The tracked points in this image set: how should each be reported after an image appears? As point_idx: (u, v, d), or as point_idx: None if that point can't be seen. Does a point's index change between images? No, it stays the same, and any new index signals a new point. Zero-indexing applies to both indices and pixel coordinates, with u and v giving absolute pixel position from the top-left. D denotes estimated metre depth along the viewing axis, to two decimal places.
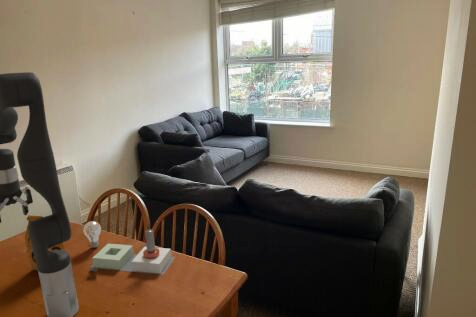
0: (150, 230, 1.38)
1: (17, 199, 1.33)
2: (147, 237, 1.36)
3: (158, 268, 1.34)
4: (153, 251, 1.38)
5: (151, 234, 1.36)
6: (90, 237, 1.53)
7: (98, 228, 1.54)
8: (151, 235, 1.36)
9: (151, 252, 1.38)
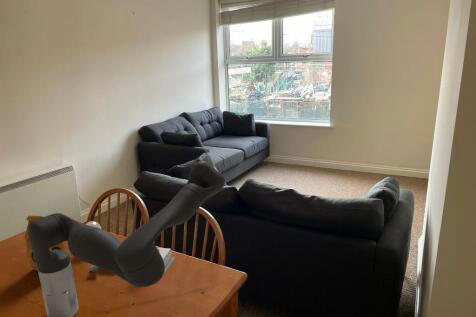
0: None
1: None
2: None
3: None
4: None
5: None
6: None
7: None
8: None
9: None
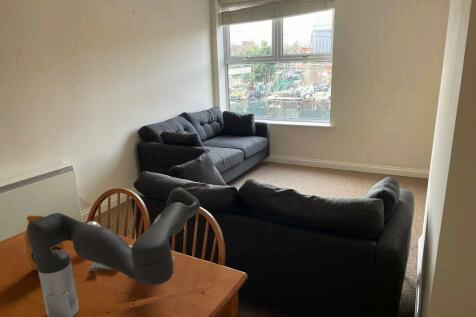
0: None
1: None
2: None
3: None
4: None
5: None
6: None
7: None
8: None
9: None
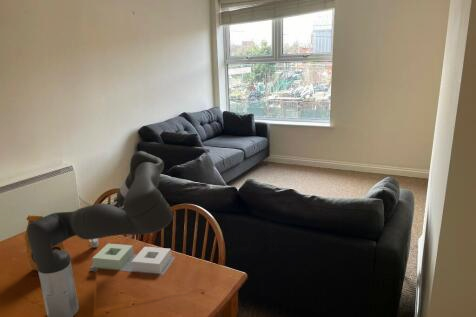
0: None
1: None
2: None
3: (158, 268, 1.34)
4: None
5: None
6: None
7: None
8: None
9: None
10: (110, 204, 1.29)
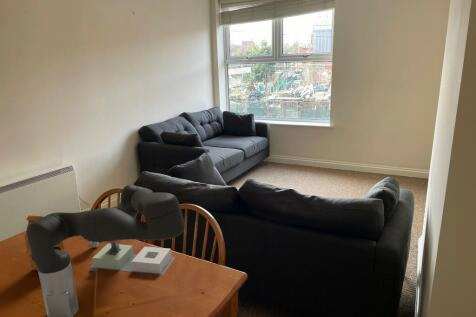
0: None
1: None
2: None
3: (158, 268, 1.34)
4: None
5: None
6: None
7: None
8: None
9: None
10: None
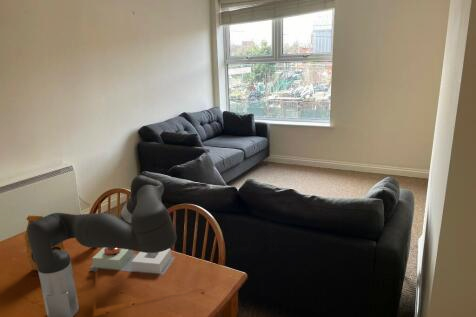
0: None
1: None
2: None
3: (158, 268, 1.34)
4: (112, 248, 1.41)
5: None
6: None
7: None
8: None
9: (110, 249, 1.41)
10: None
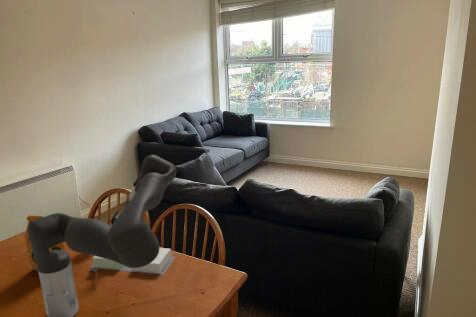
0: None
1: None
2: None
3: (158, 268, 1.34)
4: None
5: None
6: None
7: None
8: None
9: None
10: (120, 213, 1.21)
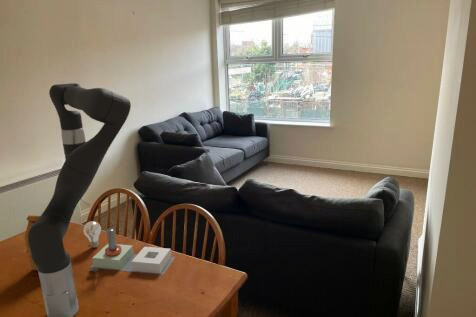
0: (112, 229, 1.39)
1: None
2: (107, 236, 1.38)
3: (158, 268, 1.34)
4: (113, 249, 1.40)
5: (111, 233, 1.38)
6: (90, 237, 1.53)
7: (98, 228, 1.54)
8: (111, 234, 1.38)
9: (111, 250, 1.40)
10: None
